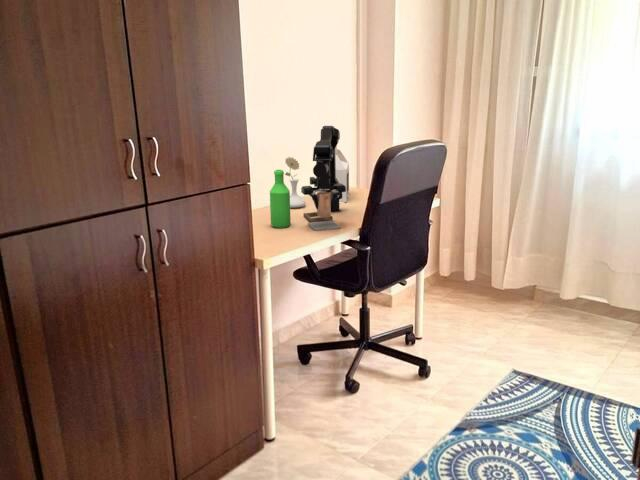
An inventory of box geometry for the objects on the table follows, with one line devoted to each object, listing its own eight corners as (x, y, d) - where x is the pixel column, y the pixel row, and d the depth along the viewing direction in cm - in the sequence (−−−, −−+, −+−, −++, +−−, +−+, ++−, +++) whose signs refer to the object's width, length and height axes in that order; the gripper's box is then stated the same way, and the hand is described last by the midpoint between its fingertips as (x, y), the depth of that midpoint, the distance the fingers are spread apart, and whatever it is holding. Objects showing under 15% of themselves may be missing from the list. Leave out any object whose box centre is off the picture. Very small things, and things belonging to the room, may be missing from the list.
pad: (333, 222, 257) (333, 220, 257) (341, 228, 246) (341, 227, 246) (307, 224, 254) (307, 222, 254) (314, 231, 243) (314, 229, 243)
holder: (325, 215, 270) (325, 211, 269) (332, 220, 259) (332, 216, 259) (303, 216, 267) (303, 213, 266) (309, 222, 257) (309, 218, 256)
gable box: (325, 194, 316) (324, 143, 308) (349, 194, 314) (349, 143, 306) (321, 203, 295) (320, 149, 287) (346, 203, 293) (346, 149, 285)
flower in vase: (310, 207, 286) (309, 157, 279) (291, 210, 280) (289, 160, 272) (296, 202, 296) (295, 154, 289) (277, 205, 290) (275, 156, 283)
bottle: (268, 224, 254) (266, 169, 247) (286, 222, 257) (284, 167, 250) (274, 229, 246) (272, 172, 239) (293, 227, 250) (291, 170, 242)
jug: (334, 217, 244) (333, 194, 241) (320, 218, 243) (320, 196, 240) (327, 212, 253) (327, 190, 250) (314, 213, 252) (314, 191, 249)
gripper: (338, 168, 253) (338, 202, 258) (297, 171, 248) (298, 206, 253) (346, 172, 243) (346, 208, 247) (304, 175, 238) (304, 211, 243)
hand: (323, 208), depth 248 cm, fingers closed on jug, 6 cm apart
